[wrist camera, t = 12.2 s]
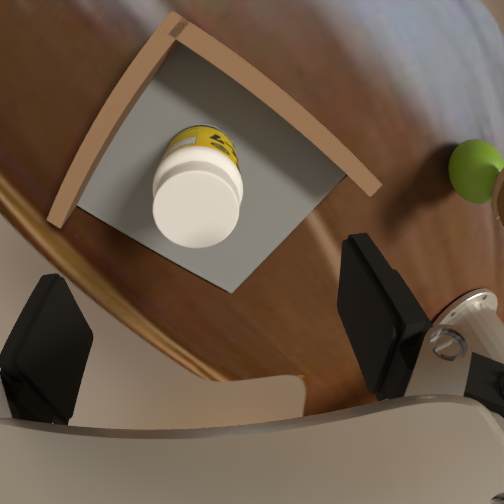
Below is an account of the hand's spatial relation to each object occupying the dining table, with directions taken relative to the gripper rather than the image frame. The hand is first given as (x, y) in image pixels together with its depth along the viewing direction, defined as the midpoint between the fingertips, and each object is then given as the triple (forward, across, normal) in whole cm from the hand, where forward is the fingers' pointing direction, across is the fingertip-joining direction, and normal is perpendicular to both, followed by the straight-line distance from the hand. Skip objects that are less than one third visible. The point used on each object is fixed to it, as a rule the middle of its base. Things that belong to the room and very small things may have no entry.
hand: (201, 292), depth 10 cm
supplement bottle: (+14, 0, 0) cm, 14 cm away
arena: (+14, +1, +2) cm, 14 cm away
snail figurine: (+15, -22, +1) cm, 26 cm away
